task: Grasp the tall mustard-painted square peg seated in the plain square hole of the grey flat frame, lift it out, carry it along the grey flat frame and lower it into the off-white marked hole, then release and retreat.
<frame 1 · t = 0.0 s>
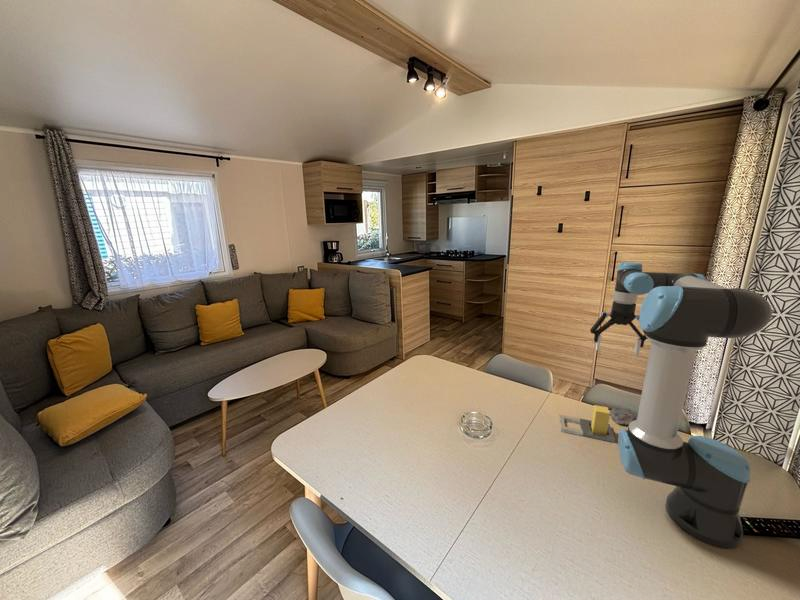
hand: (616, 351, 128), 28 cm above the table, fingers open, 13 cm apart
grey flat frame: (585, 429, 124), on the table
rock: (623, 420, 130), on the table
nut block: (598, 431, 122), resting in grey flat frame
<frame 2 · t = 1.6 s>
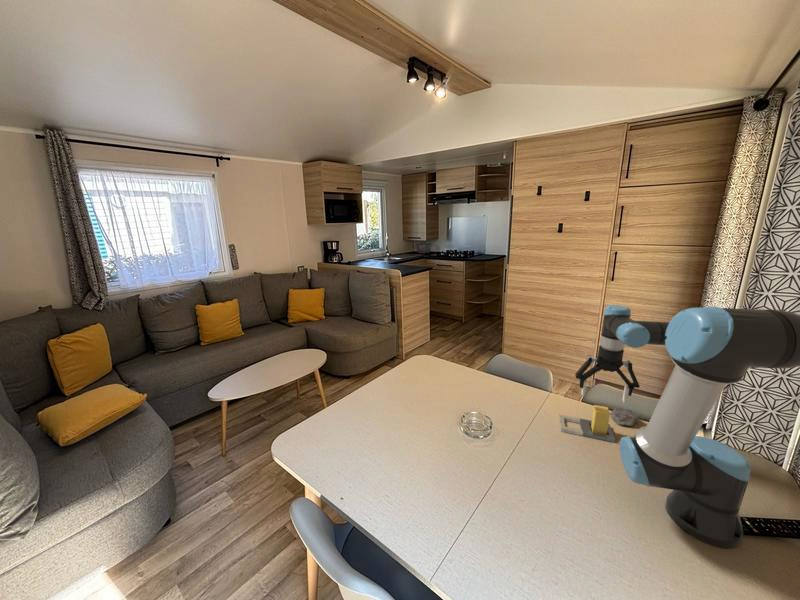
hand: (603, 398, 119), 14 cm above the table, fingers open, 13 cm apart
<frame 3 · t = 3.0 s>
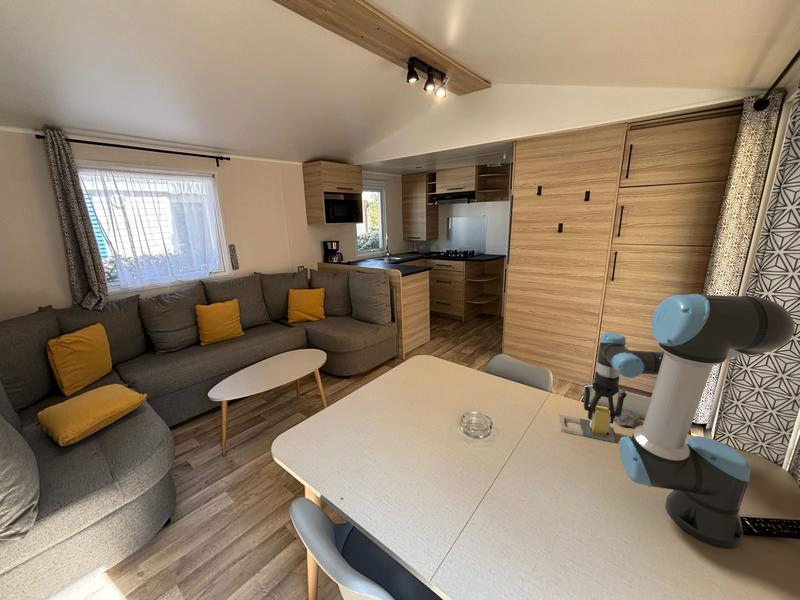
hand: (598, 427, 122), 2 cm above the table, fingers closed on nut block, 4 cm apart
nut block: (598, 431, 122), resting in grey flat frame, touching gripper
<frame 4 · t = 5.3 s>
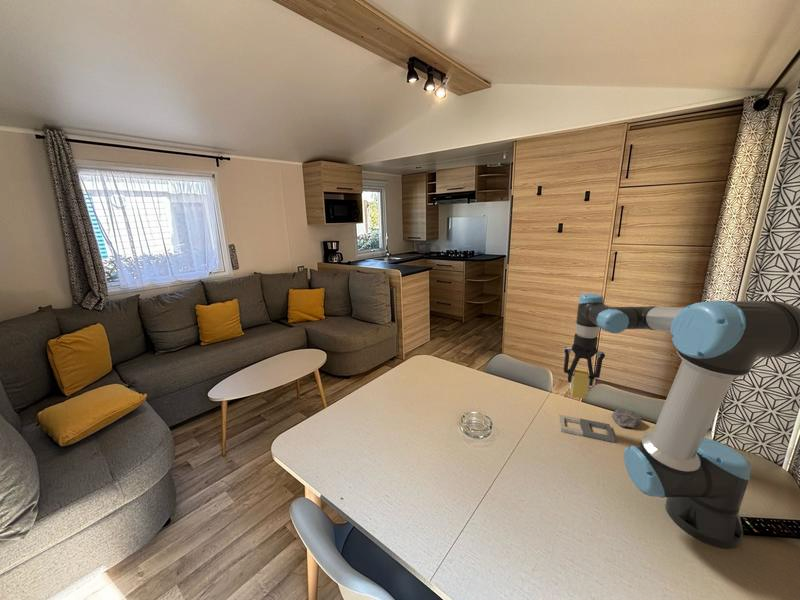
hand: (578, 390, 122), 16 cm above the table, fingers closed on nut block, 4 cm apart
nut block: (578, 394, 122), point 14 cm above the table, touching gripper
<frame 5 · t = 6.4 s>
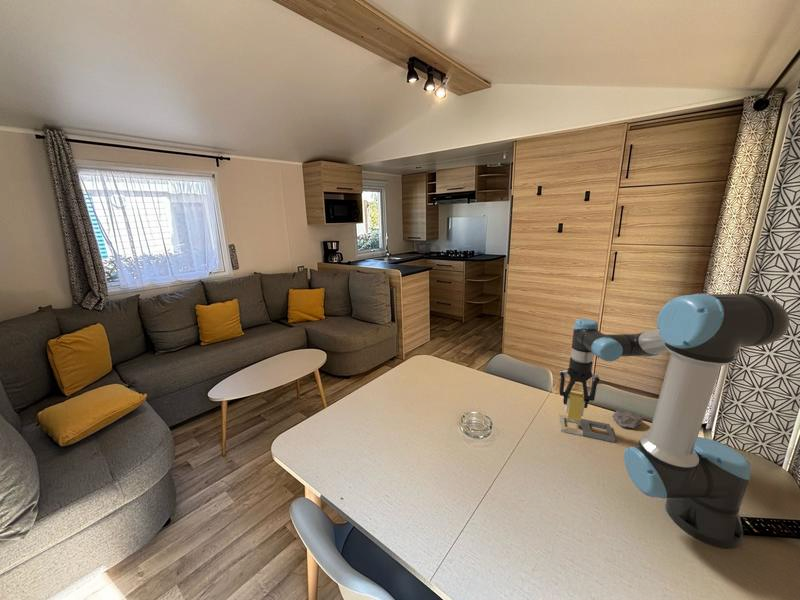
hand: (573, 412, 124), 6 cm above the table, fingers closed on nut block, 4 cm apart
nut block: (573, 416, 125), point 4 cm above the table, touching gripper
when the fingers open (2 cm above the table, at t = 7.4 s): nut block stays where it is, resting in grey flat frame.
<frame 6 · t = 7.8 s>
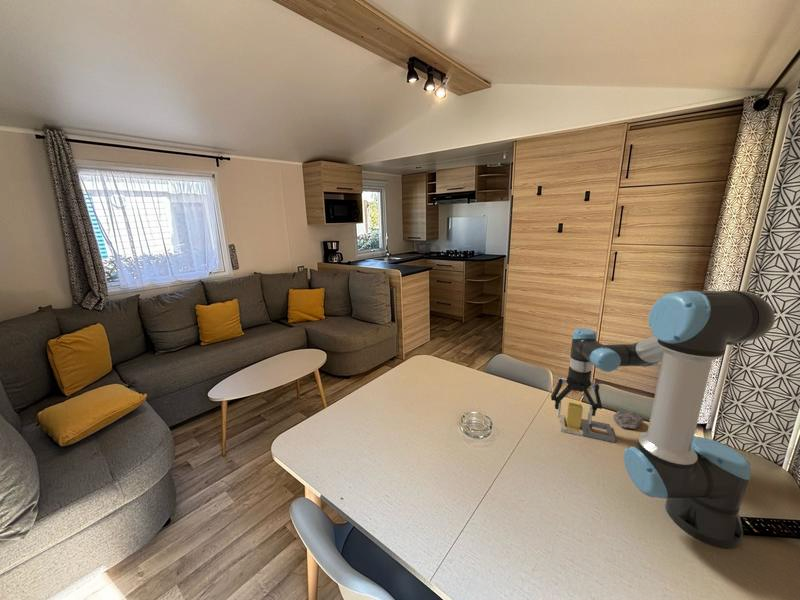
hand: (573, 419, 125), 3 cm above the table, fingers open, 10 cm apart
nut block: (572, 426, 125), resting in grey flat frame
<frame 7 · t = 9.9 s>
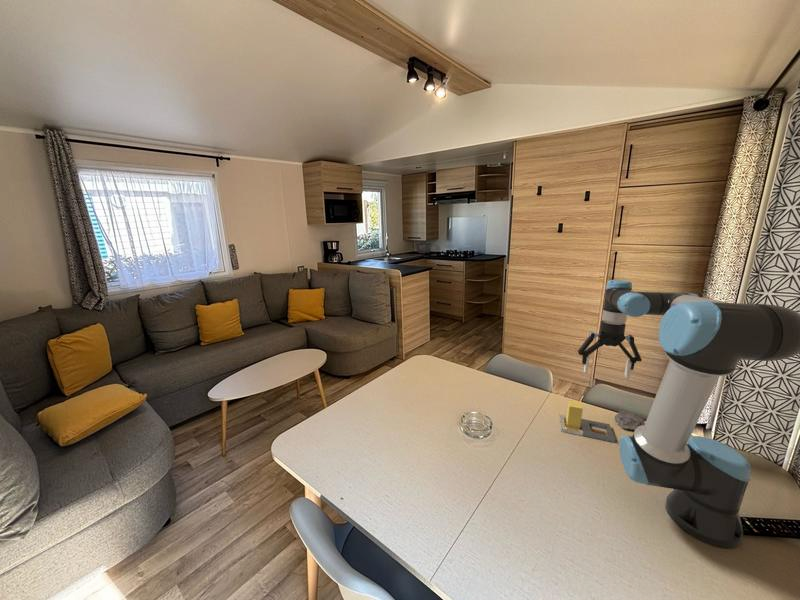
hand: (605, 374, 120), 23 cm above the table, fingers open, 13 cm apart
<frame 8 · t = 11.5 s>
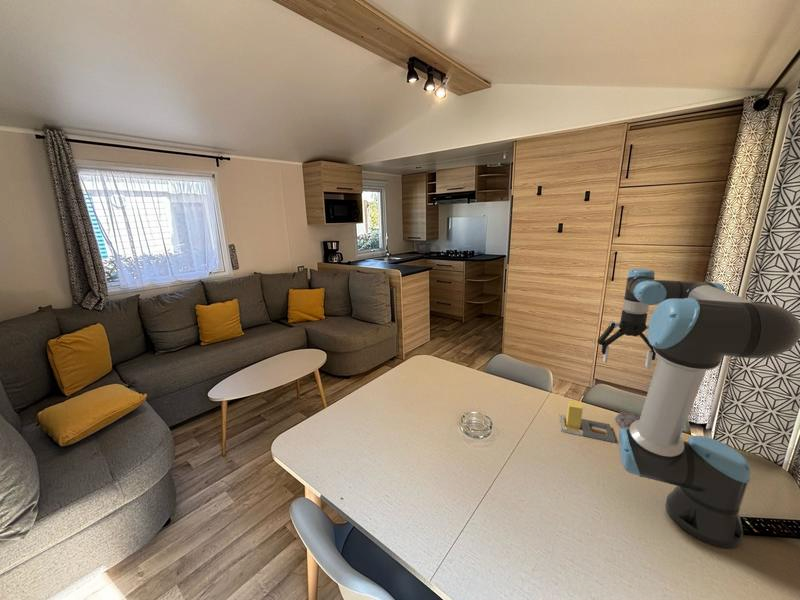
hand: (625, 364, 119), 27 cm above the table, fingers open, 13 cm apart
at the end: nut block 0.0 cm from the target spot on the grey flat frame, point 0.0 cm above the grey flat frame's base; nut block tilted 0°; the gripper is holding nothing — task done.
